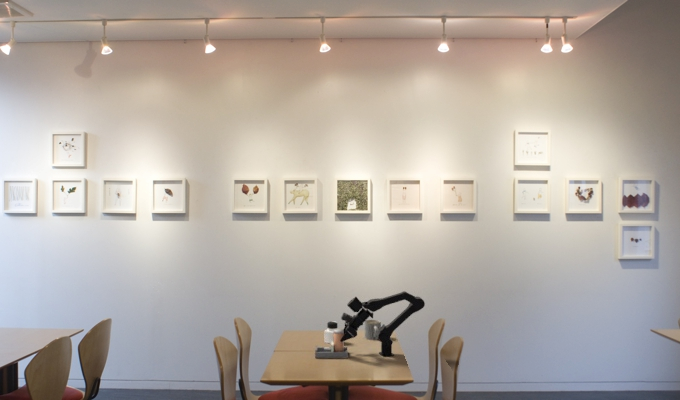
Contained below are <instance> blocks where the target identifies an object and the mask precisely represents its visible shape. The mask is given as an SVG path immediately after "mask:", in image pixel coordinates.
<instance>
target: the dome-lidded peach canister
mask: <svg viewBox="0 0 680 400" xmlns="http://www.w3.org/2000/svg"><path fill="white" fill-rule="evenodd" d="M343 329H344V328H338V329H334V330H333V336H334V352H344V347H345V345H344V344H345V341H343V342H341V341H340V340H341V338H342V337H343V335H344V330H343Z"/></svg>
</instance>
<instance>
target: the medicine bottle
mask: <svg viewBox="0 0 680 400" xmlns="http://www.w3.org/2000/svg"><path fill="white" fill-rule="evenodd" d="M326 326H327V329H325V330H324V332H323V333H324V335H323V336H324V338H323V340H324V341H323V342H324V344H325V343H327V344H330V345H331V342H333V343H334V336H333V330H334V329H339V328H338V327H339V326H338V322H337V321H333V320H332V321H328V322H327V324H326Z"/></svg>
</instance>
